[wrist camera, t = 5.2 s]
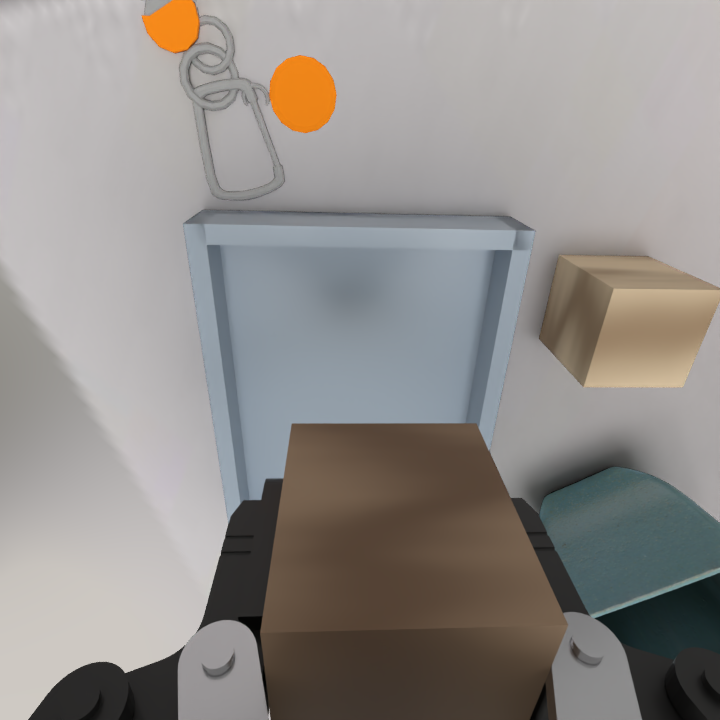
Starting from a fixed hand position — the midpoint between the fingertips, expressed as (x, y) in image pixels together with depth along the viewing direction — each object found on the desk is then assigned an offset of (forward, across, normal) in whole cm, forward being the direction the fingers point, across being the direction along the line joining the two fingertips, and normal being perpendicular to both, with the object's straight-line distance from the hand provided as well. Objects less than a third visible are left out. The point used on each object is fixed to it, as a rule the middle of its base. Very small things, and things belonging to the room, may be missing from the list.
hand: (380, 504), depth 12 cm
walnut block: (0, 0, 0) cm, 0 cm away
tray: (+13, 0, +4) cm, 13 cm away
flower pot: (+13, -16, +13) cm, 24 cm away
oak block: (+13, -12, -1) cm, 18 cm away
